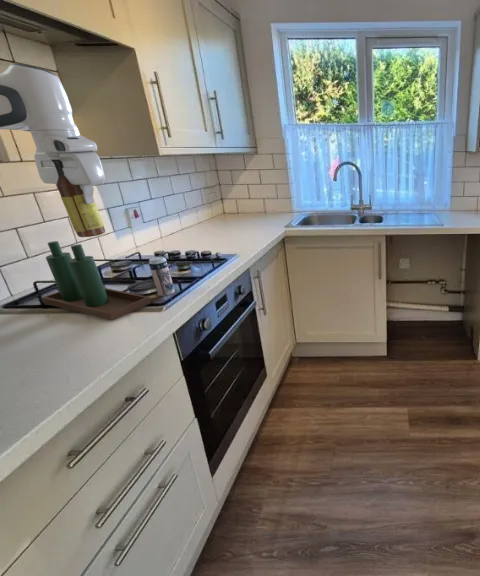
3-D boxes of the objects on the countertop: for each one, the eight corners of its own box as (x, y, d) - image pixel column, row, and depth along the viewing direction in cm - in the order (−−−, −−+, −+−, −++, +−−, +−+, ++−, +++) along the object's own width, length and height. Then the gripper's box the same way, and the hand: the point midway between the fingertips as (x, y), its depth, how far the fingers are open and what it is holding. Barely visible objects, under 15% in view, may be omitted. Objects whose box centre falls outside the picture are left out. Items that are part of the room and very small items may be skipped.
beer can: (168, 297, 113) (157, 261, 108) (154, 296, 113) (143, 260, 109) (178, 291, 117) (169, 256, 112) (165, 290, 118) (155, 255, 113)
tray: (44, 305, 110) (41, 297, 109) (86, 290, 119) (83, 283, 118) (112, 322, 98) (109, 313, 97) (152, 304, 108) (149, 296, 107)
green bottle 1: (59, 300, 111) (35, 243, 104) (79, 293, 116) (58, 239, 109) (70, 303, 109) (47, 245, 102) (90, 295, 114) (69, 240, 107)
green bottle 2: (81, 305, 107) (58, 247, 100) (101, 298, 112) (80, 242, 105) (93, 308, 105) (70, 249, 98) (112, 300, 110) (92, 243, 103)
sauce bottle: (109, 231, 98) (84, 153, 91) (102, 236, 93) (74, 154, 85) (80, 233, 96) (52, 154, 88) (71, 239, 91) (40, 155, 83)
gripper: (19, 144, 87) (41, 202, 92) (70, 143, 80) (92, 206, 85) (49, 144, 92) (69, 198, 98) (100, 142, 85) (118, 202, 90)
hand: (80, 202), depth 91 cm, fingers closed on sauce bottle, 6 cm apart
